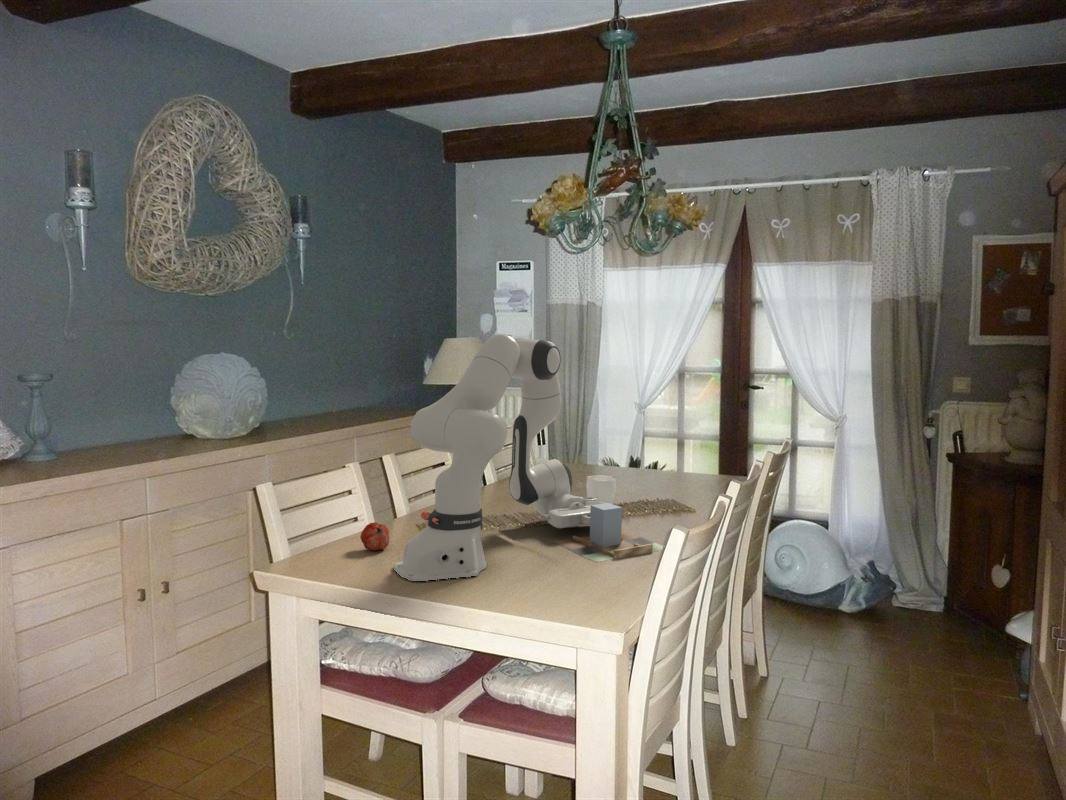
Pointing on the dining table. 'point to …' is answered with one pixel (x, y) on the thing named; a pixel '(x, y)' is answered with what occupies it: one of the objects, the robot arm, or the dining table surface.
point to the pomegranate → (375, 536)
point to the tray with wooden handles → (610, 547)
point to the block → (605, 524)
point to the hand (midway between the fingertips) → (598, 522)
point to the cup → (601, 488)
